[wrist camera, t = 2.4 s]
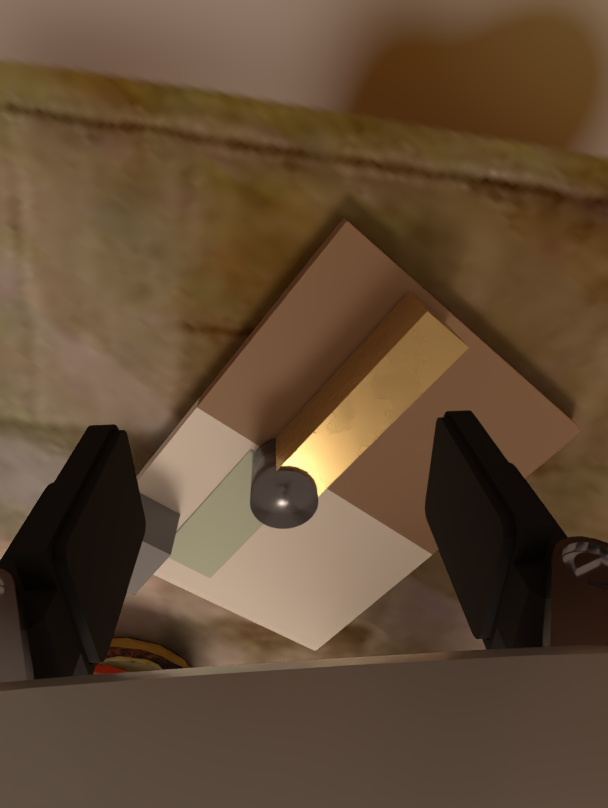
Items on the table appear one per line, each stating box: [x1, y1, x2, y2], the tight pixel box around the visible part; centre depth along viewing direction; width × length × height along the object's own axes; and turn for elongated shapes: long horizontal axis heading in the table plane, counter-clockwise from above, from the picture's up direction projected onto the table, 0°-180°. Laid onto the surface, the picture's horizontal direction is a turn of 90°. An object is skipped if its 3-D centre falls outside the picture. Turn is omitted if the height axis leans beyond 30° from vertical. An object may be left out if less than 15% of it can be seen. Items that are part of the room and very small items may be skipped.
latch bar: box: [250, 291, 469, 529], centre depth 26 cm, size 14×4×4 cm, turn 141°
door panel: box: [127, 217, 583, 651], centre depth 30 cm, size 25×19×5 cm
